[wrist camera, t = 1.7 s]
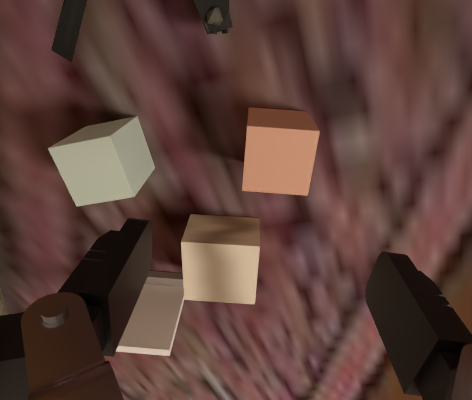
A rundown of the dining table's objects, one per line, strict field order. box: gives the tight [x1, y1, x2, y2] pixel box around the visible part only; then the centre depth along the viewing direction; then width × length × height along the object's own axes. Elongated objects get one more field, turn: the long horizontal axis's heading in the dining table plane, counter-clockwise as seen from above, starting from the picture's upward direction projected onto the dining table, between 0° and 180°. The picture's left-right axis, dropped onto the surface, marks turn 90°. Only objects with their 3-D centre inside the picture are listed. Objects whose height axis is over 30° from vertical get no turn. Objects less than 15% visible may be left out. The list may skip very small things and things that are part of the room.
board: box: [116, 271, 184, 356], centre depth 33 cm, size 9×3×9 cm, turn 87°
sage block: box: [48, 116, 155, 206], centre depth 27 cm, size 5×5×6 cm
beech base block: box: [181, 214, 260, 304], centre depth 32 cm, size 7×7×5 cm
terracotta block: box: [242, 107, 320, 196], centre depth 26 cm, size 5×5×6 cm
